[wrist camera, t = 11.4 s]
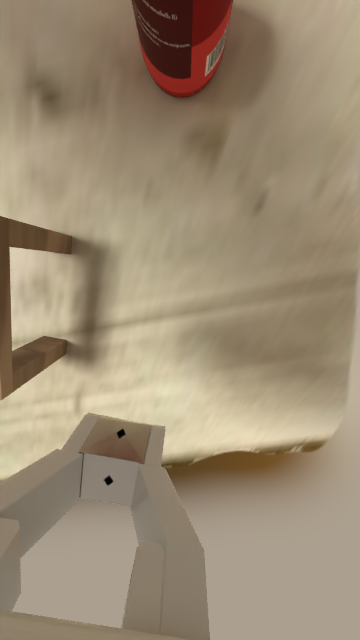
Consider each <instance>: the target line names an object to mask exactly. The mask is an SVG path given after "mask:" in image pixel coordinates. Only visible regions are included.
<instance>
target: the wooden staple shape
mask: <svg viewBox="0 0 360 640" xmlns="http://www.w3.org/2000/svg"><path fill="white" fill-rule="evenodd" d="M71 239H72V236H69V235H65V234H61V233H58V232H54V231H51V230H47V229H44V228H40V227H37V226H33V225H30V224H26V223H23V222H19V221H15V220H12V219H8V218H5V217H1V216H0V400H2V399H4V398H5V397H7V396H8V395H9V394H11V393H12V392H14V391H15V390H16V389H18V388H19V387H21V386H22V385H23V384H25V383H26V382H28V381H29V380H30V379H32V378H33V377H34V376H36V375H37V374H39V373H40V372H41V371H43V370H44V369H46V368H47V367H48V366H50V365H51V364H53V363H54V362H55V361H57V360H58V359H60V358H61V357H62V356H64V355H65V354H66V340H62V339H57V338H52V337H46V336H43V337H41V338H39V339H37V340H34V341H32V342H30V343H28V344H26V345H24V346H22V347H20V348H18V349H16V350H14V351H12V335H11V295H10V256H9V247H17V248H25V249H33V250H41V251H49V252H57V253H65V254H71Z"/></svg>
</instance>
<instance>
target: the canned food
mask: <svg viewBox="0 0 360 640" xmlns="http://www.w3.org/2000/svg"><path fill="white" fill-rule="evenodd" d="M232 3H233V0H132V5H133V10H134V15H135V20H136V24H137V29H138V34H139V39H140V44H141V49H142V53H143V57H144V61H145V63H146V66H147V68H148V70H149V72H150V74H151V76H152V77H153V79H154V81H155V82H156V84H157V85H158V86H159V87H160V88H161V89H162V90H164V91H165V92H167V93H168V94H170V95H173V96H177V97H186V96H191V95H193V94H195V93H197V92H199V91H200V90H201V89H203V88H204V87H205V86H206V85H207V84H208V83H209V81H210V80H211V78H212V77H213V75H214V73H215V71H216V69H217V67H218V65H219V63H220V60H221V58H222V54H223V51H224V47H225V41H226V36H227V30H228V25H229V19H230V14H231V8H232Z"/></svg>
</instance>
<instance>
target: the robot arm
mask: <svg viewBox="0 0 360 640" xmlns="http://www.w3.org/2000/svg"><path fill="white" fill-rule="evenodd" d="M151 427H152V428H151ZM164 436H165V426H159V425H152V424H146V423H140V422H134V421H128V420H122V419H118V418H113V417H108V416H103V415H97V414H92V413H88V414H86V415H85V416H84V418H83V419H82V421H81V422H80V423H79V425H78V426H77V428H76V429H75V431H74V432H73V434H72V435H71V437H70V438H69V439H68V441H67V442H66V444H65V445H64V447H63V448H62V450H59V449H56V450H55V451H53V452H51V453H50V454H48V455H46V456H44V457H43V458H41V459H39V460H38V461H36V462H34V463H33V464H31V465H29V466H28V467H26V468H24V469H22V470H21V471H19V472H17V473H16V474H14V475H12V476H11V477H9V478H7V479H6V480H4V481H2V482H0V640H210V634H209V619H208V604H207V589H206V575H205V558H204V549H203V547H202V545H201V543H200V541H199V539H198V536H197V534H196V532H195V530H194V528H193V526H192V524H191V522H190V520H189V518H188V516H187V514H186V511H185V509H184V507H183V505H182V503H181V501H180V499H179V497H178V495H177V492H176V490H175V488H174V486H173V484H172V482H171V480H170V478H169V476H168V474H167V472H166V469H165V468H162V467H161V460H162V452H163V444H164ZM79 498H83V499H91V500H98V501H106V502H110V503H115V504H120V505H125V506H130V507H131V511H132V516H133V520H134V525H135V529H136V534H137V539H138V543H139V546H138V547H137V550H136V555H135V560H134V565H133V570H132V574H131V579H130V584H129V589H128V594H127V599H126V604H125V608H124V614H123V619H122V625H121V628H114V627H108V626H102V625H95V624H89V623H82V622H76V621H69V620H63V619H57V618H50V617H44V616H38V615H32V614H25V613H19V612H13V611H12V610H13V608H14V606H15V603H16V601H17V599H18V597H19V595H20V593H21V582H20V558H21V557H22V556H23V555H24V554H25V553H26V552H27V551H28V550H29V549H30V548H31V547H32V546H33V545H34V544H35V543H36V542H37V541H38V540H39V539H40V538H41V537H42V536H43V535H44V534H45V533H46V532H47V531H48V530H49V529H50V528H51V527H52V526H53V525H54V524H55V523H56V522H57V521H58V520H59V519H60V518H61V517H63V515H65V514H66V512H68V510H70V508H72V506H73V505H75V504H76V502H77V501H79Z"/></svg>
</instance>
